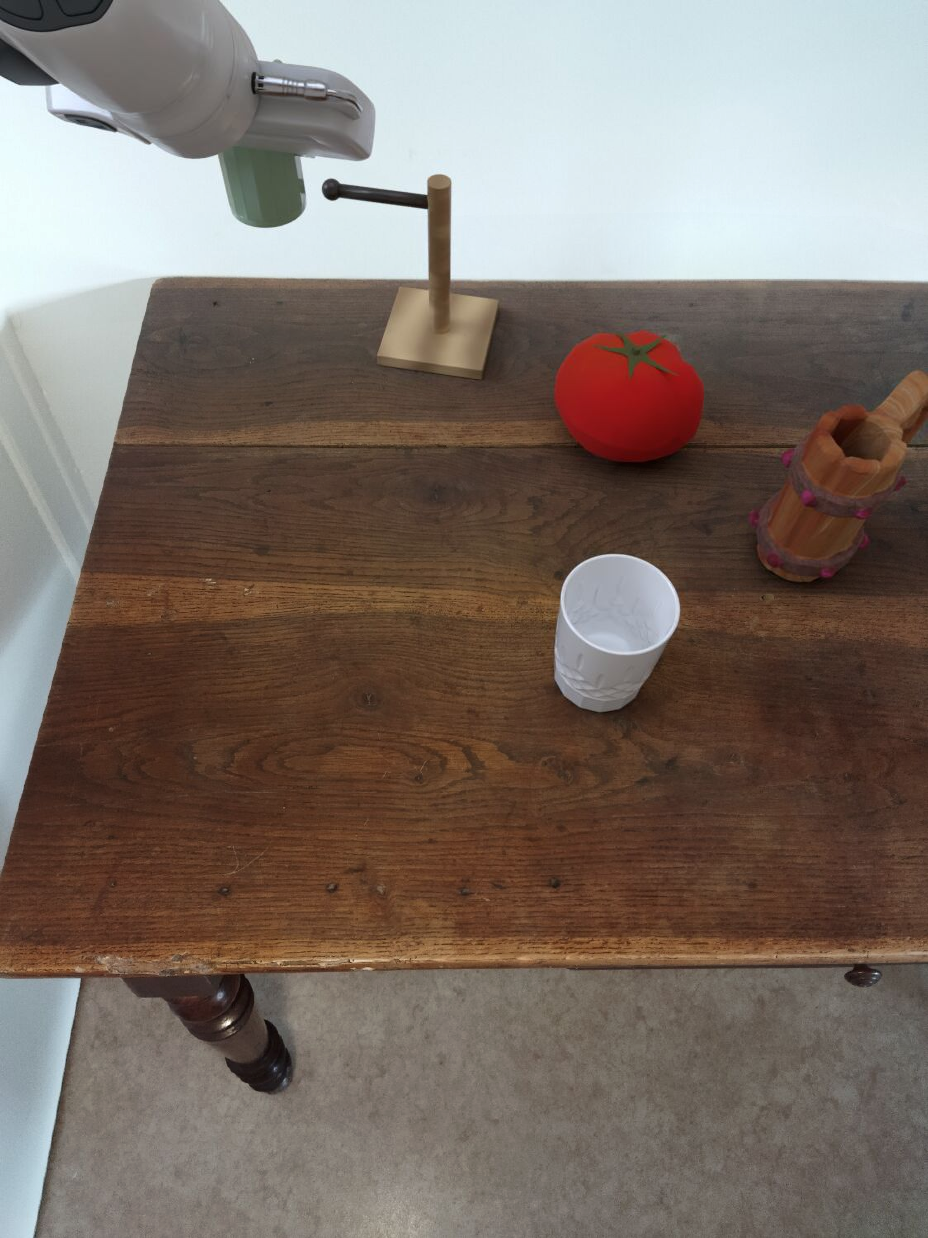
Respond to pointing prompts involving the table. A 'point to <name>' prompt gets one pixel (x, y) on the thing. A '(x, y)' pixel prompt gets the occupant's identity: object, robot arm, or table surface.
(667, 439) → the tomato
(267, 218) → the enamel mug
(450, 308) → the mug stand
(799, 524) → the mug
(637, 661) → the white cup
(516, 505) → the table surface
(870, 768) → the table surface
